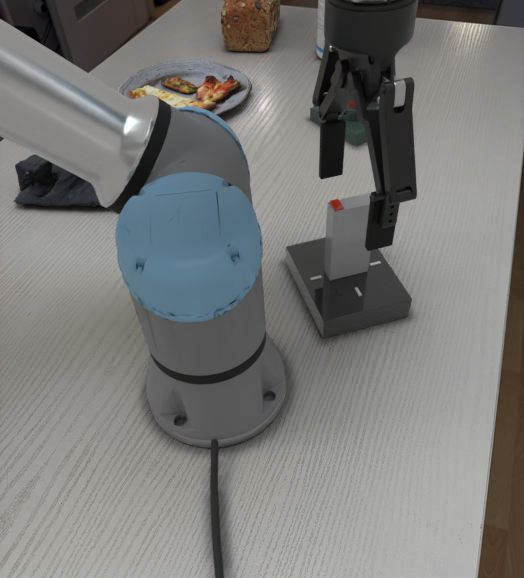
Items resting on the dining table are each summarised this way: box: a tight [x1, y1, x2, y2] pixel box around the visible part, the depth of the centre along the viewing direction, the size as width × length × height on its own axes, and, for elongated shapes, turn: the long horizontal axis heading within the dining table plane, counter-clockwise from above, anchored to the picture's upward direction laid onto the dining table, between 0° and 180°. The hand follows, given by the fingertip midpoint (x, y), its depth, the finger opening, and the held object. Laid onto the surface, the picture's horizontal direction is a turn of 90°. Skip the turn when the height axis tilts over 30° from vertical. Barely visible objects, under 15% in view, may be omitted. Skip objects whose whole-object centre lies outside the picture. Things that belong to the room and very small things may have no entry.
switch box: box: [309, 106, 379, 147], centre depth 94 cm, size 12×10×4 cm
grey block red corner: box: [324, 192, 371, 280], centre depth 63 cm, size 5×2×10 cm, turn 106°
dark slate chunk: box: [13, 154, 103, 208], centre depth 85 cm, size 15×22×5 cm
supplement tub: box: [315, 0, 325, 60], centre depth 107 cm, size 10×10×15 cm
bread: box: [220, 0, 281, 53], centre depth 118 cm, size 19×11×10 cm, turn 170°
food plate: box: [116, 58, 253, 116], centre depth 103 cm, size 25×23×4 cm
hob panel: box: [285, 236, 413, 339], centre depth 68 cm, size 14×11×3 cm
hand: (352, 208), depth 60 cm, fingers open, 13 cm apart
